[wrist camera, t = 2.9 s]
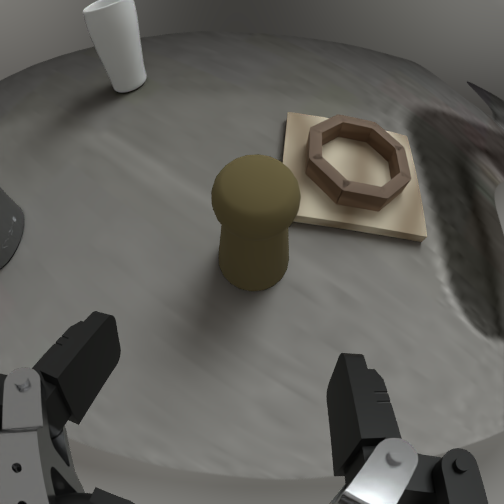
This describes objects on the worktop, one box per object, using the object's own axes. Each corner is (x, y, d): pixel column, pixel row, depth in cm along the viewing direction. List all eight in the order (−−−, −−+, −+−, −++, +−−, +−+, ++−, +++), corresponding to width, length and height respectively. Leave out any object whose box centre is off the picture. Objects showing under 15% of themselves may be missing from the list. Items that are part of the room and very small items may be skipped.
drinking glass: (110, 103, 35) (79, 17, 21) (109, 82, 38) (83, 5, 24) (155, 87, 36) (134, -3, 22) (149, 67, 39) (131, -12, 25)
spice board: (276, 219, 27) (279, 198, 24) (287, 119, 33) (289, 97, 30) (421, 241, 27) (438, 225, 23) (403, 142, 32) (413, 123, 29)
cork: (302, 267, 26) (334, 194, 15) (242, 304, 24) (237, 249, 14) (263, 215, 28) (270, 126, 17) (205, 247, 26) (182, 166, 16)
